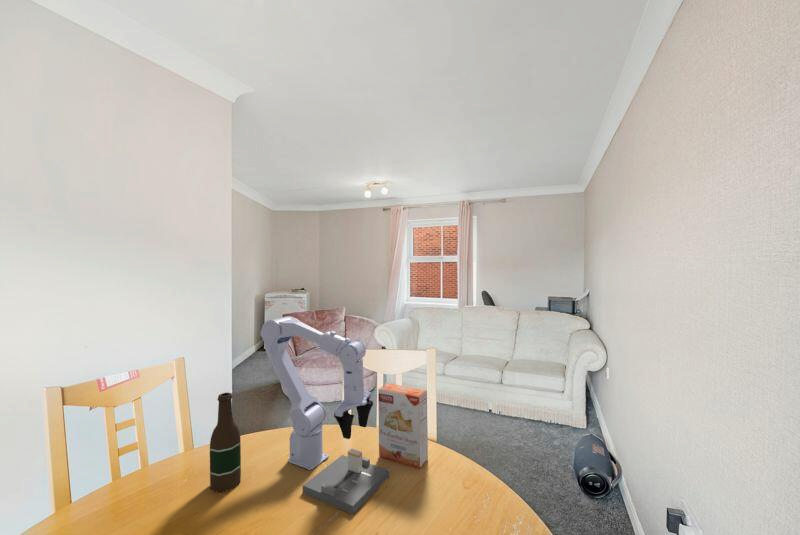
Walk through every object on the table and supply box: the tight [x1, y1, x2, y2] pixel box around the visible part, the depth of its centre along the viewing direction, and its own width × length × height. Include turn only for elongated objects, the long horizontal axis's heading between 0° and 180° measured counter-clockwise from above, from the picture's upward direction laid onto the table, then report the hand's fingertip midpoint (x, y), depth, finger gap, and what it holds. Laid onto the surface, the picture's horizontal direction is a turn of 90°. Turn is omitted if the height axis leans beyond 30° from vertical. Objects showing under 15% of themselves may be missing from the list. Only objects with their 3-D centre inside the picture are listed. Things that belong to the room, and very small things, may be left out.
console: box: [302, 454, 390, 515], centre depth 90 cm, size 16×16×4 cm
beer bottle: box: [209, 392, 242, 493], centre depth 91 cm, size 8×8×24 cm
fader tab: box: [347, 448, 363, 473], centre depth 93 cm, size 4×2×5 cm, turn 61°
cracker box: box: [377, 383, 429, 469], centre depth 102 cm, size 14×6×21 cm, turn 61°
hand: (355, 432), depth 98 cm, fingers open, 7 cm apart
